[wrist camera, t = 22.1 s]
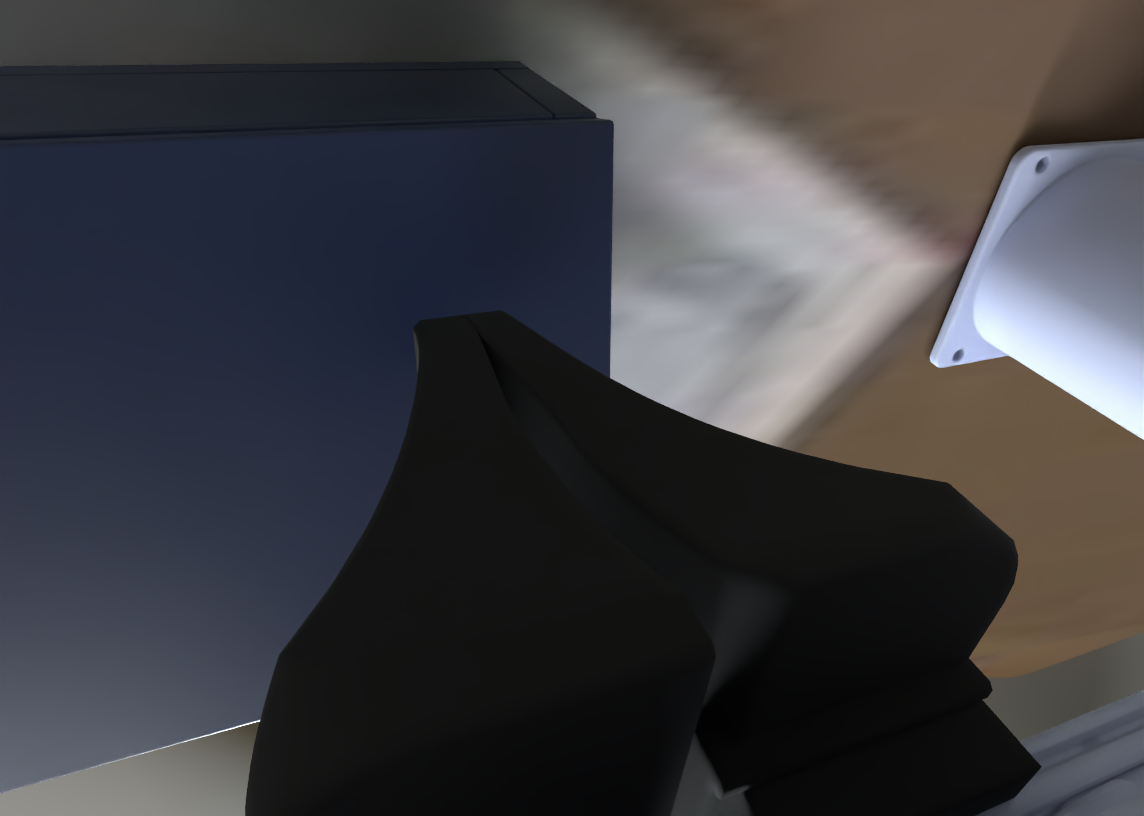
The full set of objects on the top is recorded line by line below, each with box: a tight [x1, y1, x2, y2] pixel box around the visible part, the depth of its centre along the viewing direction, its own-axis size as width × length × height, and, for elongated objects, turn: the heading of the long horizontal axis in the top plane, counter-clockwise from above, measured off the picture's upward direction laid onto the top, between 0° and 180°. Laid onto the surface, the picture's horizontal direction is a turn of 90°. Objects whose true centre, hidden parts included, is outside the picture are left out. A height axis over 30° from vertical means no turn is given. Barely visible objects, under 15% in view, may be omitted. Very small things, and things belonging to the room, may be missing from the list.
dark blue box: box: [0, 61, 596, 140], centre depth 14 cm, size 10×14×5 cm
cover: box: [0, 118, 614, 793], centre depth 12 cm, size 11×14×1 cm
